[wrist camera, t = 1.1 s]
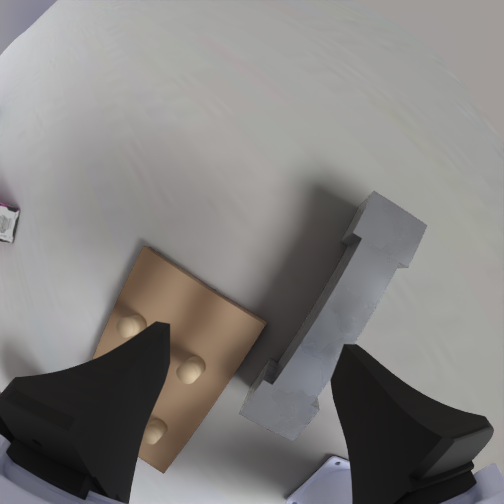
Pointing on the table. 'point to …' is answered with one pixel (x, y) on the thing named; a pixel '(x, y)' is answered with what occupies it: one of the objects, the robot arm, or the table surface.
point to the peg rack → (180, 347)
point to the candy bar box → (8, 222)
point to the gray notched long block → (335, 317)
